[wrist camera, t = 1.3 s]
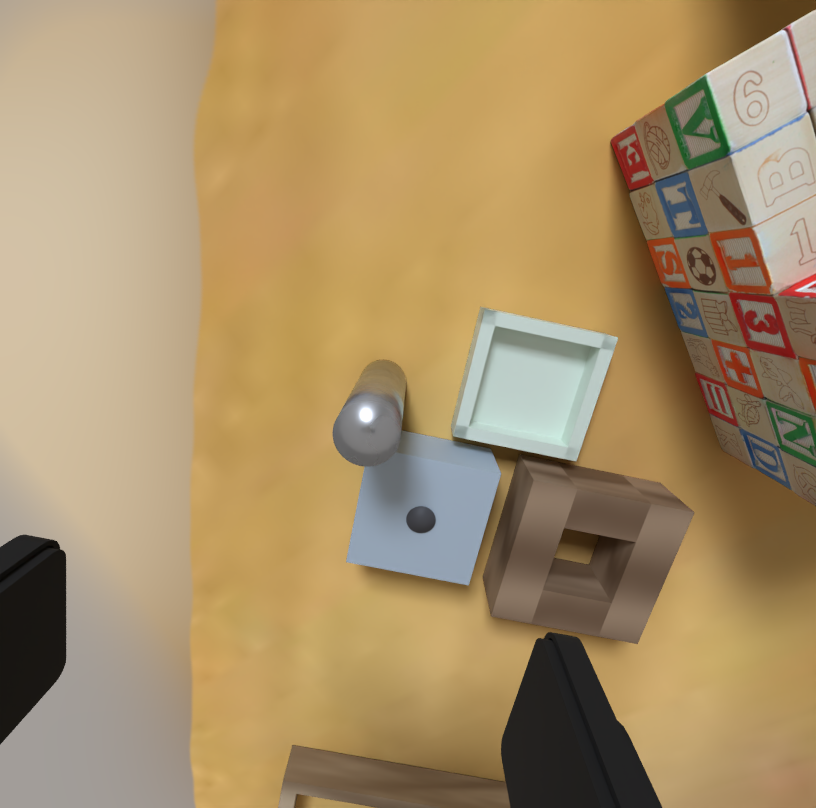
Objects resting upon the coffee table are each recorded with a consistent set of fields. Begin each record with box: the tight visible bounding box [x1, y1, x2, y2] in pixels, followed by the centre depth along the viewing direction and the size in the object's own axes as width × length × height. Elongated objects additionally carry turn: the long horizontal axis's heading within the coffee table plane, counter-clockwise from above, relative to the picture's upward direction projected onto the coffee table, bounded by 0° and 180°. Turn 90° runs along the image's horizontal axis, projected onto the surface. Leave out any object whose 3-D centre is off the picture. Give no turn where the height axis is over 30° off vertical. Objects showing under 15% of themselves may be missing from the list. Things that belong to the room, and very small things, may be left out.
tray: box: [451, 307, 618, 461], centre depth 28 cm, size 8×8×2 cm
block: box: [346, 430, 501, 585], centre depth 30 cm, size 8×8×4 cm
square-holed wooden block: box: [483, 454, 694, 644], centre depth 30 cm, size 10×10×4 cm
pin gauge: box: [333, 360, 406, 467], centre depth 25 cm, size 3×3×10 cm
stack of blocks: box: [611, 9, 816, 506], centre depth 22 cm, size 21×6×12 cm, turn 28°
